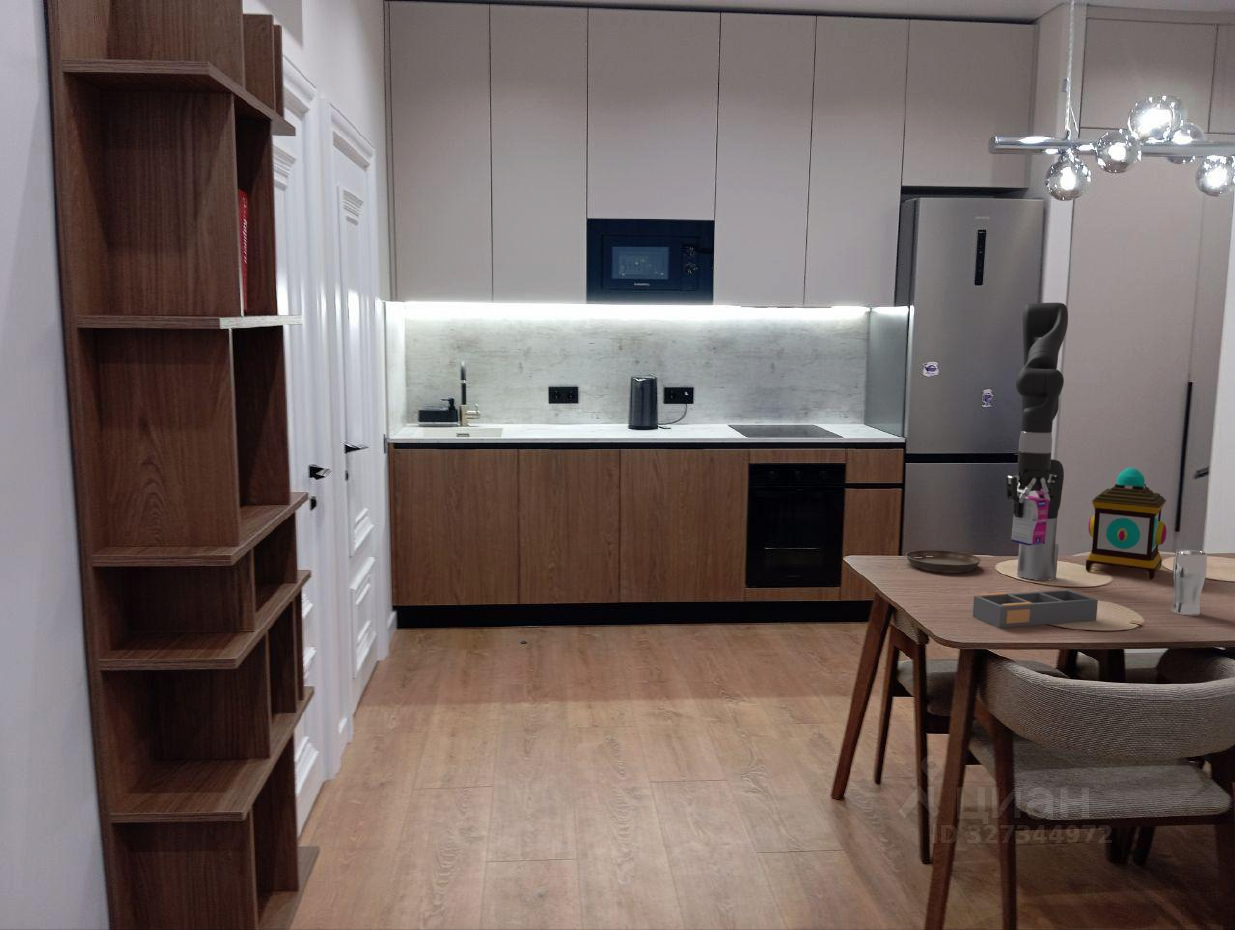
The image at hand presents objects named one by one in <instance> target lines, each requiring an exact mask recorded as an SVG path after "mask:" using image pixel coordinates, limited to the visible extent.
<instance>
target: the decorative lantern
mask: <svg viewBox="0 0 1235 930" xmlns="http://www.w3.org/2000/svg"><path fill="white" fill-rule="evenodd" d="M1091 503H1092V506H1093V508H1094V515H1092V516H1091V517H1090V519H1088V534H1089V536H1090V537H1092V544H1091V545H1092V547H1091V551H1090V552H1089V554H1088V556H1087V559H1086V561H1085V570H1086V572H1088V573H1090V572H1091V571H1092V569H1093V565H1102V566H1111V567H1118V568H1124V569H1125V568H1127V569H1133V570H1134V569H1135V570H1140V571H1146V572H1147V576H1148V577H1147V578H1148V580H1149V581H1153V580H1155V579H1154V578H1155V574H1156V571H1159V570H1161V568H1162V562H1163V560H1162V556H1161V554H1160V551H1159V546H1162V545H1163V544H1164V543H1165V541H1166V539H1167V531H1168V530H1167V527H1166V524H1165V523H1164V522H1163V521H1161V517H1162V516H1161V515H1162V510H1163V507H1164V505H1166V503H1167V500H1166V499H1165V498H1164V496H1162V495H1161V493H1159V492H1153V490H1151V489H1150V487H1147V484H1146V482H1145V476H1144V475H1143V474H1142V472H1141V471H1139V469H1137V468H1135V467H1128V468H1125V469H1124V470H1122V472H1120V473H1119V474H1118V476H1117V480H1116V483H1115V484H1114V485H1113V486H1112V487H1111V488H1106V489H1104V490H1103V491H1102V492H1101V493H1099V494H1098V495H1096V496H1095V497H1094V498H1093V499H1092V500H1091Z"/></svg>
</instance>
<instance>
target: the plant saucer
mask: <svg viewBox="0 0 1235 930" xmlns="http://www.w3.org/2000/svg"><path fill="white" fill-rule="evenodd" d="M926 556H933V557H926ZM905 557H906V558H907V561H908V562H909V563H910V564H911V565H912V567H915V568H917V569H920V570H922V571H923V570H924V571H928V572H933V573H943V574H944V573H945V574H963V573H967V572H968V573H969V572H970V571H973V570H974V569H975V568H977V566H978V565H979V564H980V563H981V561H982V559H981V558H980V557H979V556H976V555H973V554H969V553H965V552H961V551H960V552H958V551H954V550H953V551H951V550H941V549H940V550H938V549H923V550H922V549H921V550H912V551H908V552H906V553H905ZM914 557H922V558H914Z"/></svg>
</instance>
